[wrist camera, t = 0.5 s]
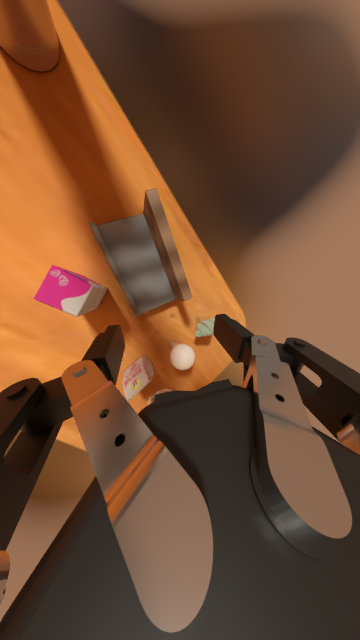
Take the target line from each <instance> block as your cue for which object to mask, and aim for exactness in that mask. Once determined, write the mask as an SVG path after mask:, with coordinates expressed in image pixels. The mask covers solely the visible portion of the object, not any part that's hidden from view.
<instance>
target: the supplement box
mask: <svg viewBox="0 0 360 640" xmlns="http://www.w3.org/2000/svg"><path fill="white" fill-rule="evenodd" d="M107 290H108V288H106V287H104V286H101V285H100V284H98V283H96V282H94V281H92V280H90V279H88V278H87V277H85V276H83V275H80V274H77V273H74V272H71V271H68V270H65V269H62V268H60V267H57V266H54V265H52V266H51V268H50V270H49V272H48V274H47V276H46V278H45V280H44V281H43V283H42V285H41V287H40V288H39V290H38V292H37V294H36V295H35V297H34V299H35V300H37V301H40V302H42V303H44V304H47V305H49V306H52V307H54V308H57V309H59V310H61V311H64V312H66V313H69V314H71V315H74V316H76V317H78V316H80V315H83V314H85V313H88V312H90V311H93V310H95V309H97V308H98V306H99V304H100V303H101V301H102V299H103V297H104V295H105V294H106V292H107Z"/></svg>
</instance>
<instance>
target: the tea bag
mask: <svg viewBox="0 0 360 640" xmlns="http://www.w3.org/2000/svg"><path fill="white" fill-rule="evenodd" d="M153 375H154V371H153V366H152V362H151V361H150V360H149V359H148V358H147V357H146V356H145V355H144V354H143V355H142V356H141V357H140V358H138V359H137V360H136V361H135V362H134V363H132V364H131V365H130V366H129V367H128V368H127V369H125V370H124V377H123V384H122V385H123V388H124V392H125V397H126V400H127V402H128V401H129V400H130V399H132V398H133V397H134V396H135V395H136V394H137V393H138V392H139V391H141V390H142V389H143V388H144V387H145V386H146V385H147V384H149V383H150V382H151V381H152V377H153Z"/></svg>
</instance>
